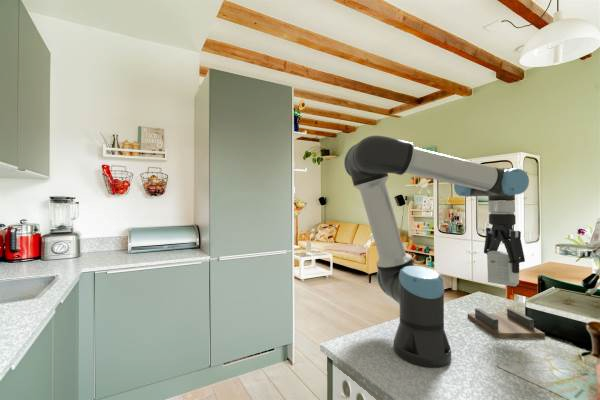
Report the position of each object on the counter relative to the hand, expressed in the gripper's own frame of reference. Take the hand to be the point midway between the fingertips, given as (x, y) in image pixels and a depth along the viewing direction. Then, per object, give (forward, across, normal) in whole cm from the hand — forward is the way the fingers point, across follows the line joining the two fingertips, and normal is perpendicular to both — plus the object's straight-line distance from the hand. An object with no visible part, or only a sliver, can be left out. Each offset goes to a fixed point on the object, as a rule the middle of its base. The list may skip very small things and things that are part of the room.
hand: (503, 278), depth 98 cm
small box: (+2, 0, 0) cm, 2 cm away
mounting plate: (+17, 0, 0) cm, 17 cm away
